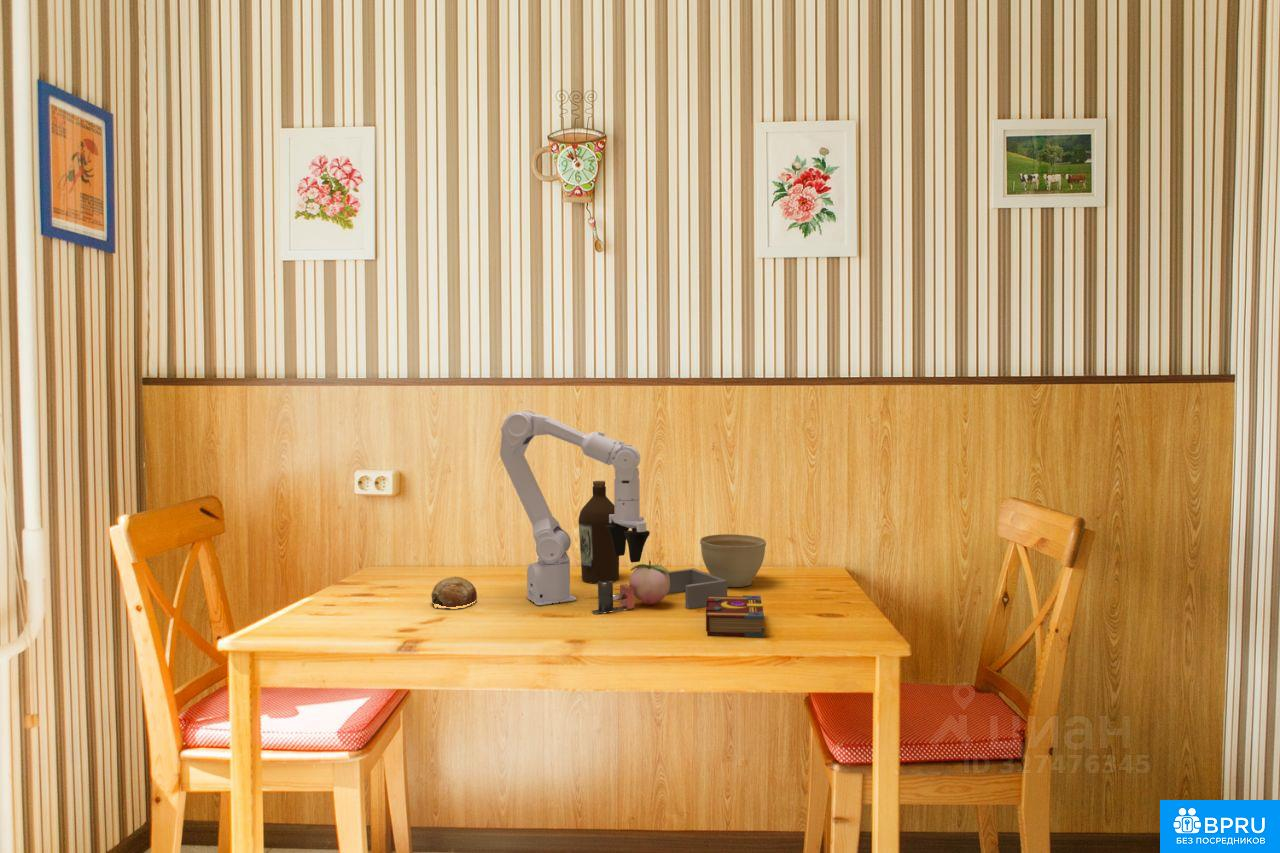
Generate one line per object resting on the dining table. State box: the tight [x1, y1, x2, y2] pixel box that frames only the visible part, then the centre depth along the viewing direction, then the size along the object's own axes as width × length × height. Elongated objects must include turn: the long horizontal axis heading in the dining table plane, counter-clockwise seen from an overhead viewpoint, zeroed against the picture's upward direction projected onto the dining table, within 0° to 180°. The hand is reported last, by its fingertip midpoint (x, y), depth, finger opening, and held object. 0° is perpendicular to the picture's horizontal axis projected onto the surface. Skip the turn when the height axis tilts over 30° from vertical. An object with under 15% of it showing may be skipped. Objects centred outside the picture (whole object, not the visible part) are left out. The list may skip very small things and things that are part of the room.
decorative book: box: [705, 595, 765, 638], centre depth 158 cm, size 11×16×5 cm
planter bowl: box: [699, 533, 767, 588], centre depth 192 cm, size 16×16×11 cm
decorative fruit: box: [628, 560, 670, 606], centre depth 173 cm, size 9×8×10 cm
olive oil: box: [578, 480, 620, 584], centre depth 196 cm, size 11×11×25 cm
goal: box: [668, 567, 728, 610], centre depth 178 cm, size 10×14×5 cm
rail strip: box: [591, 605, 632, 615], centre depth 169 cm, size 9×2×1 cm, turn 118°
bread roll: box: [431, 576, 478, 607], centre depth 176 cm, size 10×10×8 cm
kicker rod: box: [597, 580, 635, 611], centre depth 169 cm, size 8×4×6 cm, turn 118°
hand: (627, 558), depth 176 cm, fingers open, 7 cm apart
